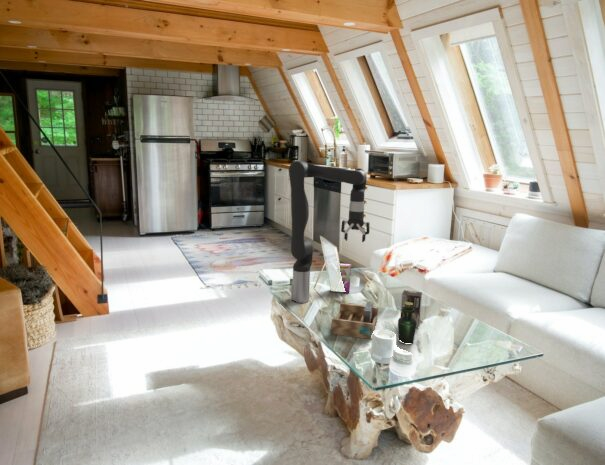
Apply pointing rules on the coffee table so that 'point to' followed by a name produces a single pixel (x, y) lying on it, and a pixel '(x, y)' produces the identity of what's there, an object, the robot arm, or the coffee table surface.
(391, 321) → the coffee table surface
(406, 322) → the potion bottle
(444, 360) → the coffee table surface
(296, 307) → the coffee table surface
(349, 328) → the rack
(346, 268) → the candy bar box
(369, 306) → the panel
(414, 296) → the coffee box
